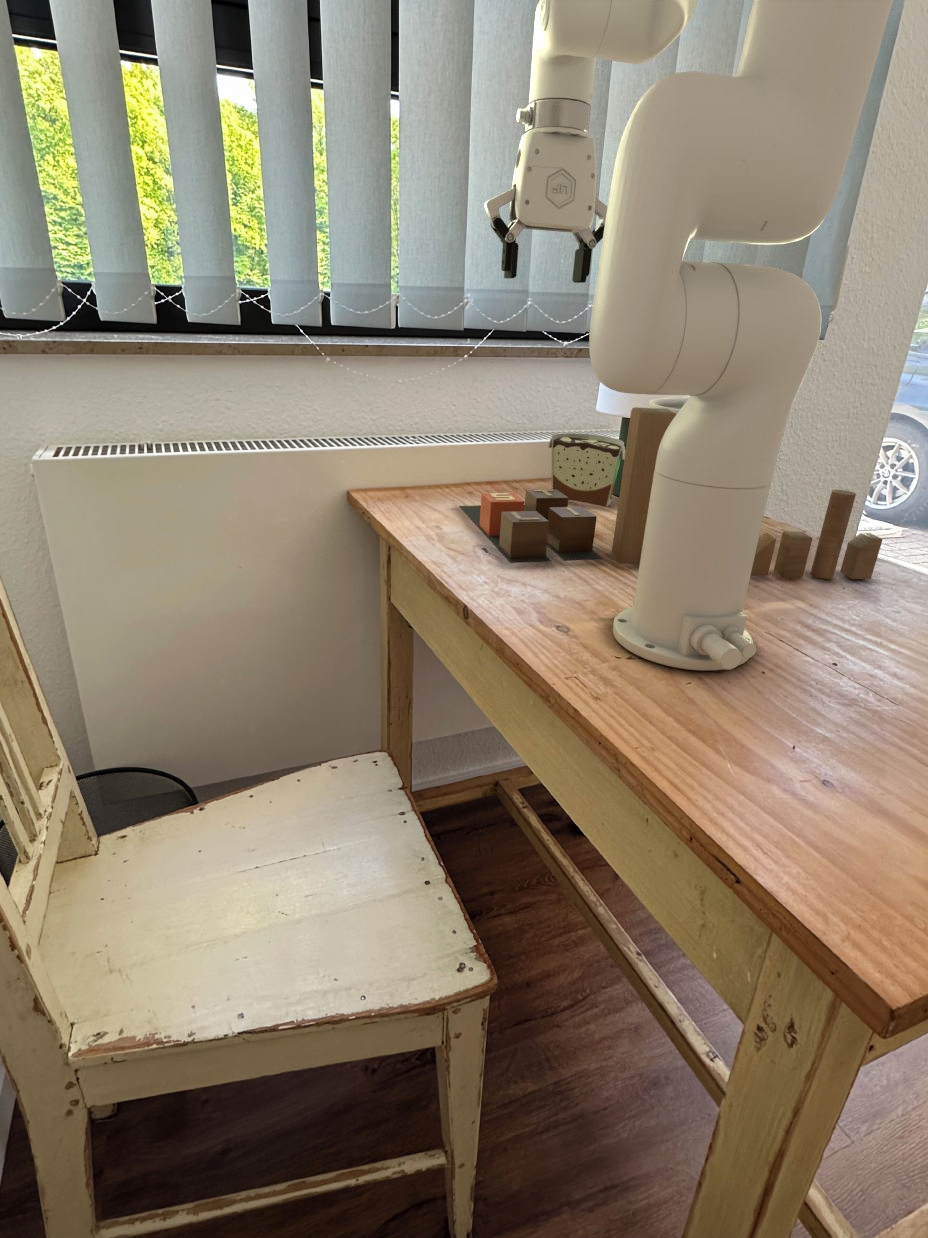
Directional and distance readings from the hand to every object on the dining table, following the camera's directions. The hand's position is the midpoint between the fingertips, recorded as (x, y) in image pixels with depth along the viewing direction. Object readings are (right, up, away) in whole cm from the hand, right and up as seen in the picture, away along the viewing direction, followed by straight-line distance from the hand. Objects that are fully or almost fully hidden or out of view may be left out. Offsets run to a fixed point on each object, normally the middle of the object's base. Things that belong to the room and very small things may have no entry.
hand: (544, 280), depth 94 cm
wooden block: (+12, -38, -6) cm, 40 cm away
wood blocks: (+25, -40, -9) cm, 48 cm away
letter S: (-6, -33, +1) cm, 33 cm away
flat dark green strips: (-3, -33, +2) cm, 33 cm away
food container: (+9, -26, +20) cm, 34 cm away
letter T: (0, -32, +4) cm, 32 cm away
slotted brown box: (+2, -35, -4) cm, 36 cm away
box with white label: (-4, -36, -7) cm, 37 cm away
